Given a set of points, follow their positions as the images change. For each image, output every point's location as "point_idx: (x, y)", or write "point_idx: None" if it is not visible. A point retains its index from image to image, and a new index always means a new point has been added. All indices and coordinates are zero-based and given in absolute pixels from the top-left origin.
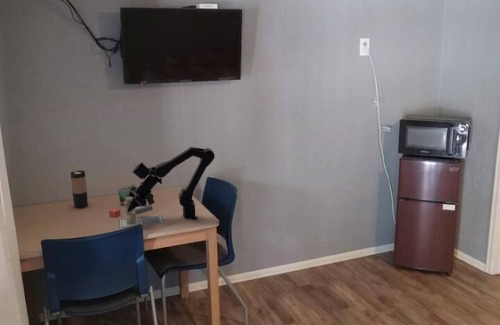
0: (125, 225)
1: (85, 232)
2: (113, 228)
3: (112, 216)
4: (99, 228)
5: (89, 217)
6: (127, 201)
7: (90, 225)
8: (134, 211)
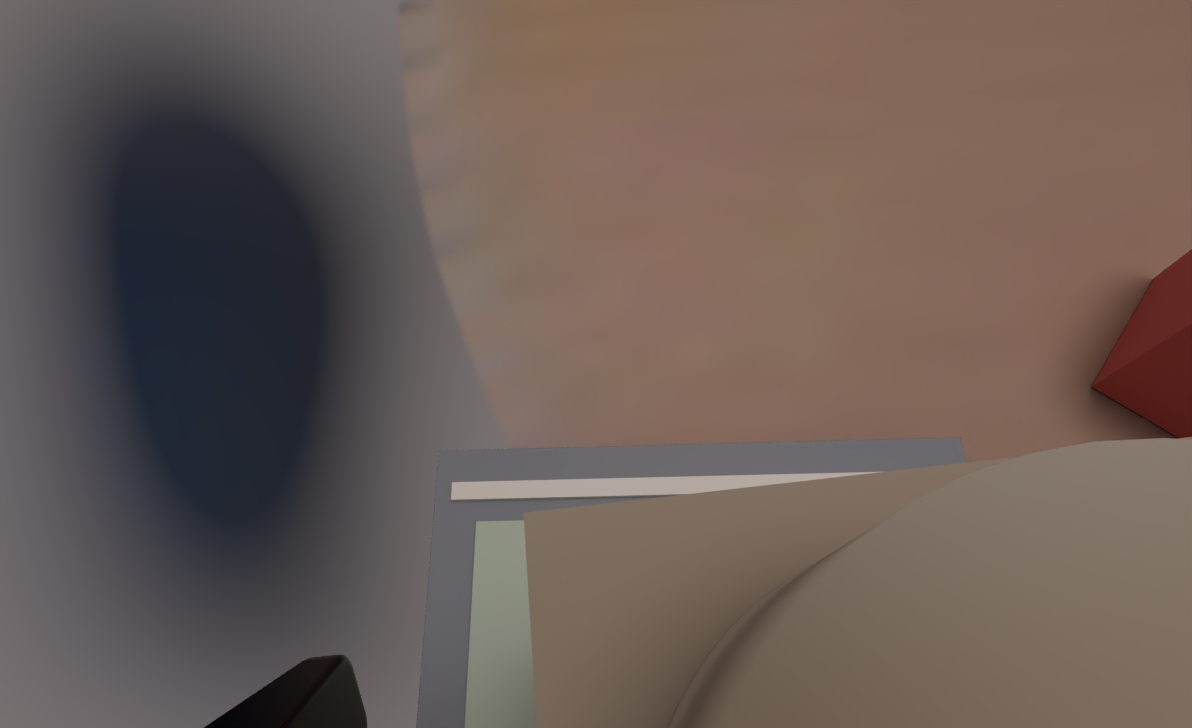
0: None
1: (535, 13)
2: (577, 364)
3: (1156, 309)
4: (643, 159)
5: (1177, 4)
6: (693, 709)
7: (808, 43)
8: None
